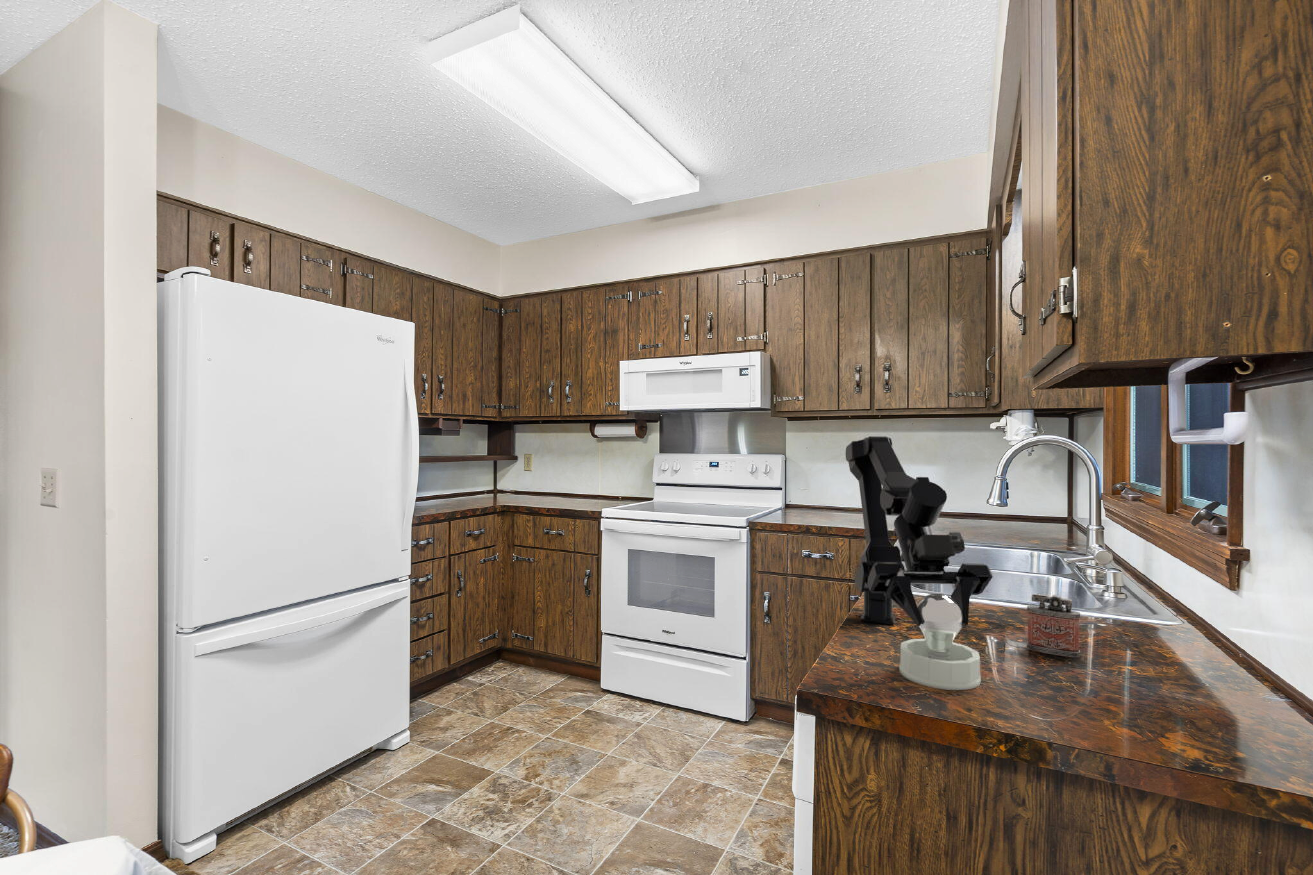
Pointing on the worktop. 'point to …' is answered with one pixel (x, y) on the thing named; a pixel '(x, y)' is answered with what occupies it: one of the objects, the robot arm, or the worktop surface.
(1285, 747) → the worktop surface
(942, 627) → the light bulb
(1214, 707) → the worktop surface
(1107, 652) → the worktop surface
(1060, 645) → the lighter
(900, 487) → the robot arm
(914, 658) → the bulb holder
